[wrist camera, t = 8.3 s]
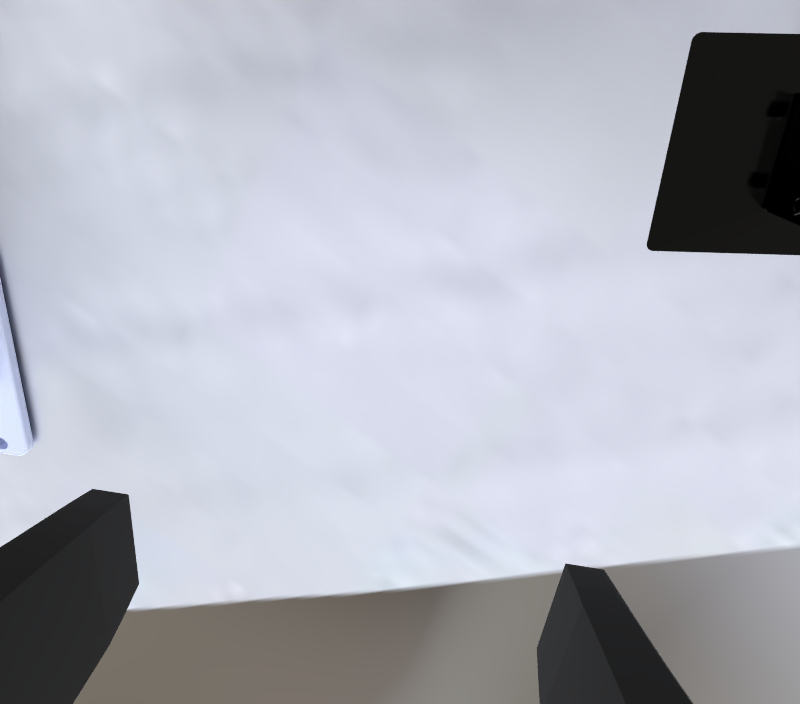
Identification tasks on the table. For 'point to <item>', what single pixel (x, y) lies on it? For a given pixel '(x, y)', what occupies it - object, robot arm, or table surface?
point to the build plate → (734, 149)
